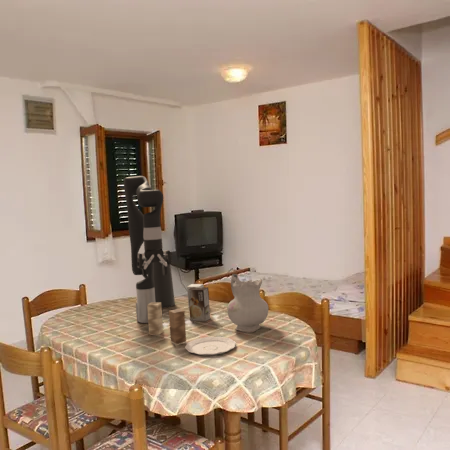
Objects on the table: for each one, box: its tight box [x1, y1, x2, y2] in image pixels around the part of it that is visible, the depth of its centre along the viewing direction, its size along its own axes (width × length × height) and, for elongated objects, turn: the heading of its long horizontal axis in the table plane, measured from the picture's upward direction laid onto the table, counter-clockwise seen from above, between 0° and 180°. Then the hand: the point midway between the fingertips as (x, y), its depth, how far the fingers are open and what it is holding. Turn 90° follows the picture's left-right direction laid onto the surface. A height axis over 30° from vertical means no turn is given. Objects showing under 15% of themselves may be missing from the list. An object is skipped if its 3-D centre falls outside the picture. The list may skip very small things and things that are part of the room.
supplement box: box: [186, 283, 205, 307], centre depth 257 cm, size 7×7×13 cm
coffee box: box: [187, 286, 211, 322], centre depth 232 cm, size 9×6×16 cm
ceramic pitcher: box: [226, 273, 269, 333], centre depth 214 cm, size 22×20×25 cm
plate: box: [184, 336, 237, 356], centre depth 189 cm, size 21×21×2 cm
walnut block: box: [168, 308, 187, 346], centre depth 198 cm, size 5×5×14 cm
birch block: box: [147, 302, 164, 336], centre depth 213 cm, size 5×5×14 cm
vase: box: [153, 254, 176, 309], centre depth 266 cm, size 14×14×29 cm
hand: (155, 276), depth 191 cm, fingers open, 8 cm apart
